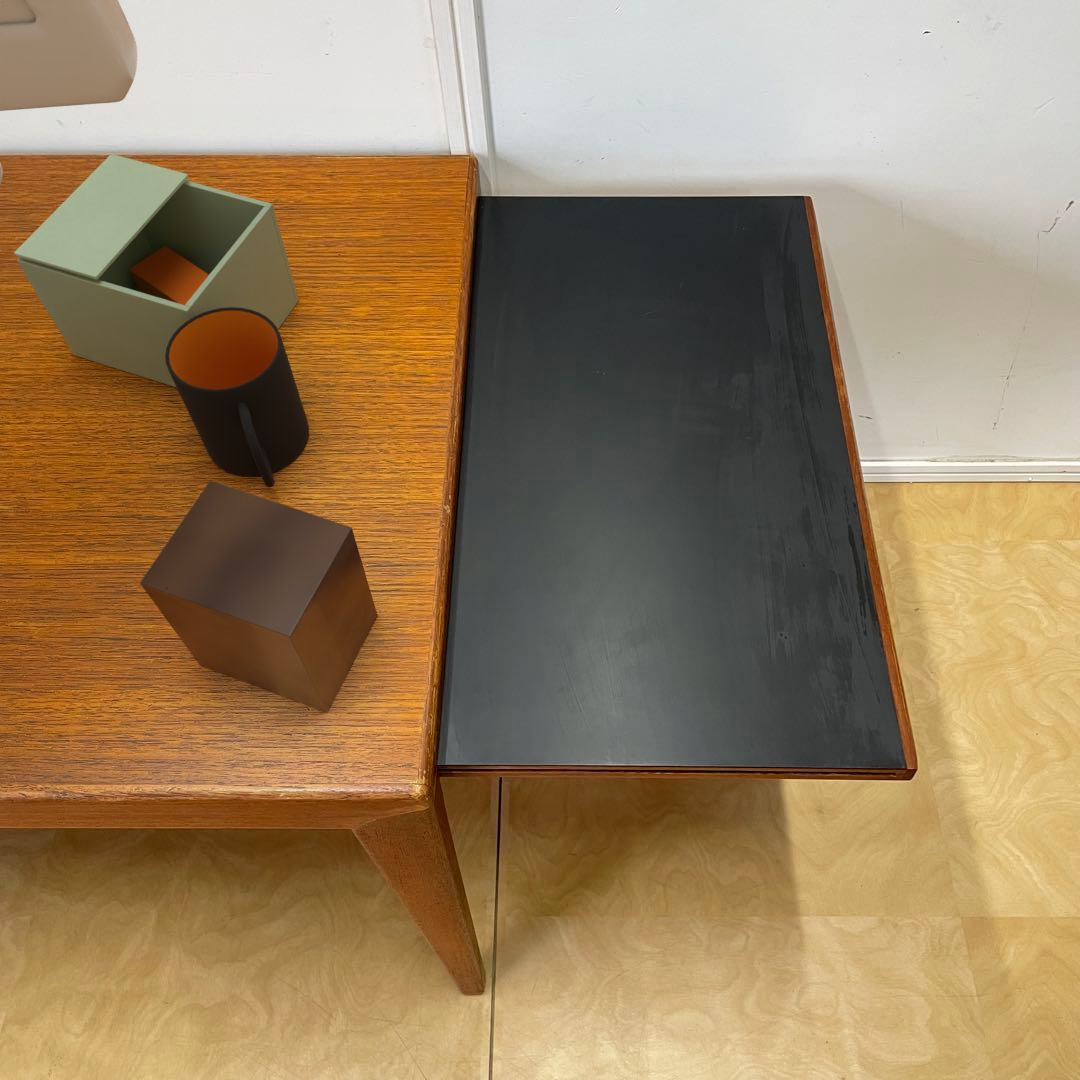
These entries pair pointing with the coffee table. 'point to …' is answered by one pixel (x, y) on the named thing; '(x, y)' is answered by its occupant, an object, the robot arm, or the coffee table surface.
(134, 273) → the block
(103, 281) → the green box
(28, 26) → the robot arm
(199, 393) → the mug
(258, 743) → the coffee table surface
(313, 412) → the coffee table surface
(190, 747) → the coffee table surface
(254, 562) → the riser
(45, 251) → the flap
